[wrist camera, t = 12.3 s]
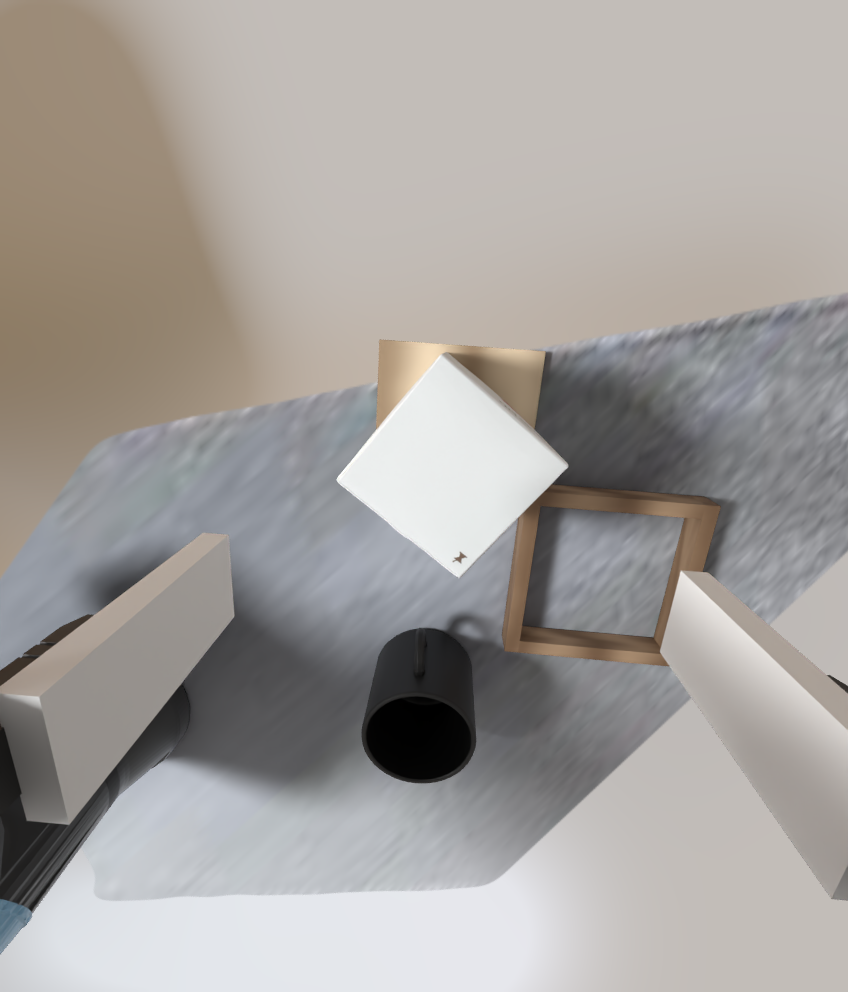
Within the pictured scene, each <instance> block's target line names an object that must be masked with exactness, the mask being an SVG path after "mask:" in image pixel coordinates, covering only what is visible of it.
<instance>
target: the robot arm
mask: <svg viewBox="0 0 848 992" xmlns="http://www.w3.org/2000/svg"><path fill="white" fill-rule="evenodd" d="M234 617H235V616H234V602H233V588H232V574H231V560H230V546H229V535H224V534H212V533H202V534H201V535H200V536H198V537H197V538H196V539H194V540H193V541H192V542H190V543H189V544H188V545H186V546H185V547H184V548H182V549H181V550H180V551H178V552H177V553H176V554H174V555H173V556H172V557H170V558H169V559H168V560H166V561H165V562H164V563H163V564H161V565H160V566H159V567H157V568H156V569H155V570H153V571H152V572H151V573H149V574H148V575H147V576H145V577H144V578H143V579H141V580H140V581H139V582H137V583H136V584H135V585H133V586H132V587H131V588H129V589H128V590H127V591H126V592H124V593H123V594H122V595H120V596H119V597H118V598H116V599H115V600H114V601H112V602H111V603H110V604H108V605H107V606H106V607H104V608H103V609H102V610H100V611H99V612H98V613H96V614H95V615H86V616H83V617H81V618H79V619H77V620H75V621H72V622H70V623H68V624H66V625H64V626H62V627H60V628H59V629H57V630H56V631H55V632H53V633H52V634H50V635H49V636H48V637H46V638H45V639H43V640H42V641H41V642H40V645H35V646H34V647H32V648H31V649H30V650H28V651H27V652H25V653H24V654H23V657H22V658H17V659H16V660H14V661H13V662H12V663H10V664H9V665H7V666H6V667H5V668H3V669H2V670H1V671H0V954H1V953H2V952H3V951H4V949H5V948H6V947H7V946H8V944H9V943H10V942H11V941H12V940H13V938H14V937H15V936H16V935H17V934H18V932H19V931H20V930H21V929H22V928H23V927H25V926H26V925H27V923H28V922H29V921H30V919H31V918H32V913H33V912H34V911H35V909H36V908H37V907H38V905H39V904H40V902H41V901H42V900H43V898H44V897H45V895H46V894H47V893H48V891H49V890H50V888H51V887H52V886H53V884H54V883H55V882H56V880H57V879H58V878H59V876H60V875H61V873H62V872H63V870H65V868H66V867H67V865H68V864H69V863H70V861H71V860H72V858H73V857H74V856H75V854H76V853H77V852H78V850H79V849H80V848H81V846H82V845H83V843H84V842H85V841H86V839H87V838H88V837H89V835H90V834H91V832H92V831H93V830H94V828H95V827H96V826H97V824H98V823H99V821H100V820H101V819H102V817H103V816H104V815H105V813H106V812H107V811H108V809H109V808H110V807H111V805H112V804H113V803H114V801H115V800H116V798H117V797H118V796H119V795H120V794H121V793H122V792H124V791H125V790H126V789H127V788H129V787H130V786H131V785H132V784H133V783H135V782H136V781H137V780H138V779H139V778H141V777H142V776H143V775H144V774H145V773H146V772H148V771H149V770H150V769H151V768H153V767H155V766H156V765H158V764H159V763H161V762H162V761H163V760H164V759H165V758H167V756H168V755H169V754H170V753H171V752H172V751H173V749H174V748H175V747H176V745H177V744H178V742H179V741H180V739H181V738H182V736H183V735H184V733H185V731H186V729H187V727H188V723H189V718H190V708H189V702H188V698H187V695H186V693H185V691H184V689H183V687H182V685H181V683H182V682H183V681H184V680H185V678H186V677H187V676H188V675H189V673H190V672H191V671H192V669H193V668H194V667H195V666H196V664H197V663H198V662H199V661H200V659H201V658H202V657H203V656H204V654H205V653H206V652H207V651H208V649H209V648H210V647H211V646H212V644H213V643H214V642H215V640H216V639H217V638H218V637H219V635H220V634H221V633H222V632H223V630H224V629H225V628H226V627H227V625H228V624H229V623H230V622H231V620H232V619H233V618H234ZM660 653H661V654H662V656H663V657H664V659H665V660H666V662H667V663H668V665H669V666H670V667H671V669H672V670H673V672H674V673H675V675H676V676H677V678H678V679H679V680H680V682H681V683H682V685H683V686H684V688H685V689H686V690H687V692H688V693H689V695H690V696H691V698H692V699H693V701H694V702H695V703H696V705H697V706H698V708H699V709H700V711H701V712H702V713H703V715H704V716H705V718H706V719H707V721H708V722H709V724H710V725H711V726H712V728H713V729H714V731H715V732H716V734H717V735H718V737H719V738H720V739H721V741H722V742H723V744H724V745H725V747H726V748H727V750H728V751H729V752H730V754H731V755H732V757H733V758H734V760H735V761H736V762H737V764H738V765H739V767H740V768H741V770H742V771H743V773H744V774H745V775H746V777H747V778H748V780H749V781H750V783H751V784H752V786H753V787H754V788H755V790H756V791H757V793H758V794H759V796H760V797H761V798H762V800H763V801H764V803H765V804H766V806H767V807H768V809H769V810H770V811H771V813H772V814H773V816H774V817H775V819H776V820H777V822H778V823H779V824H780V826H781V827H782V829H783V830H784V831H785V833H786V834H787V836H788V837H789V839H790V840H791V842H792V843H793V844H794V846H795V847H796V849H797V850H798V852H799V853H800V855H801V856H802V857H803V859H804V860H805V862H806V863H807V865H808V866H809V868H810V869H811V870H812V872H813V873H814V875H815V876H816V878H817V879H818V881H819V882H820V883H821V885H822V886H823V887H824V889H825V891H826V892H827V893H828V895H829V896H830V898H831V899H839V900H848V686H847V685H845V684H844V683H842V682H840V681H839V680H837V679H835V678H834V677H832V676H830V675H826V674H825V673H823V672H822V671H821V670H820V669H819V668H818V667H817V666H815V665H814V664H813V663H812V662H811V661H810V660H808V659H807V658H806V657H805V656H804V655H803V654H801V653H800V652H799V651H798V650H797V649H796V648H795V647H793V646H792V645H791V644H790V643H789V642H788V641H786V640H785V639H784V638H783V637H782V636H781V635H780V634H778V633H777V632H776V631H775V630H774V629H773V628H771V627H770V626H769V625H768V624H767V623H766V622H765V621H763V620H762V619H761V618H760V617H759V616H758V615H756V614H755V613H754V612H753V611H752V610H751V609H750V608H748V607H747V606H746V605H745V604H744V603H743V602H741V601H740V600H739V599H738V598H737V597H736V596H735V595H733V594H732V593H731V592H730V591H729V590H728V589H726V588H725V587H724V586H723V585H722V584H721V583H720V582H718V581H717V580H716V579H715V578H714V577H713V576H711V575H710V574H709V573H707V572H694V571H682V570H681V572H680V576H679V580H678V584H677V588H676V591H675V595H674V599H673V603H672V607H671V611H670V615H669V618H668V622H667V626H666V630H665V634H664V638H663V642H662V645H661V649H660Z"/></svg>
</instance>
